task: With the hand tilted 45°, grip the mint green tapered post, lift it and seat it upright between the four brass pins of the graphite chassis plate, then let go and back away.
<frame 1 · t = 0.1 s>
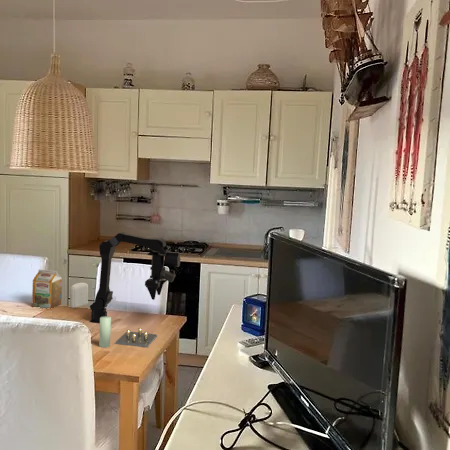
hand: (156, 297, 226), 15 cm above the table, tool pointing down, fingers open, 9 cm apart
milk carton: (46, 306, 251), on the table
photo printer: (78, 305, 255), on the table
mint green tapered post: (104, 345, 199), on the table
chassis plate: (136, 340, 208), on the table
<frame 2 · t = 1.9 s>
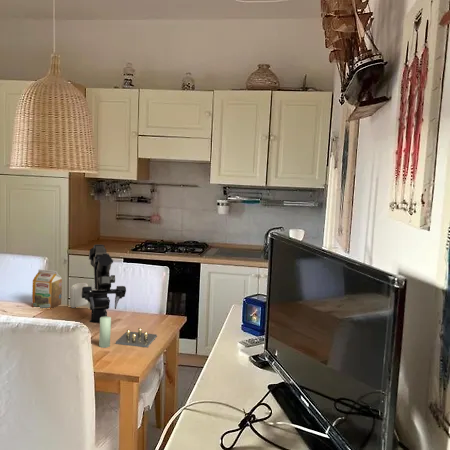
hand: (104, 309, 206), 13 cm above the table, tool tilted 45°, fingers open, 9 cm apart
nothing on the table moved.
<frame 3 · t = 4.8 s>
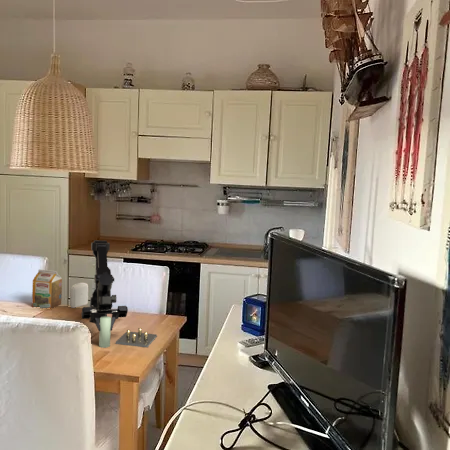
hand: (105, 330, 197), 7 cm above the table, tool tilted 45°, fingers closed on mint green tapered post, 4 cm apart
mint green tapered post: (104, 345, 199), on the table, touching gripper
everything else where it was.
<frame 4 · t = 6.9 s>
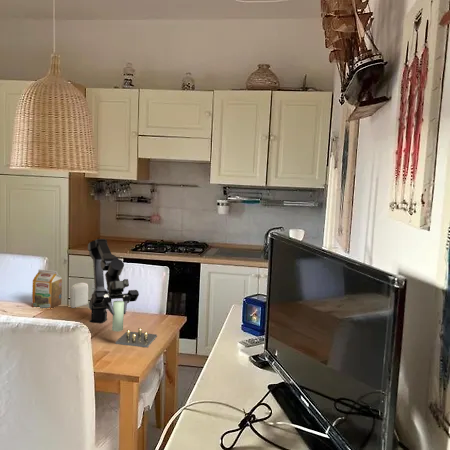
hand: (119, 314, 199), 13 cm above the table, tool tilted 45°, fingers closed on mint green tapered post, 4 cm apart
mint green tapered post: (117, 329, 201), point 6 cm above the table, touching gripper
everything else where it was.
when the fingers open (9 cm above the table, at t = 9.1 s): mint green tapered post stays where it is, resting on chassis plate.
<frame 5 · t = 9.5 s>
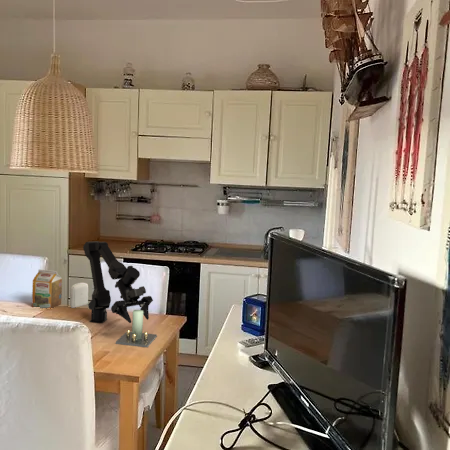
hand: (139, 320, 206), 9 cm above the table, tool tilted 45°, fingers open, 9 cm apart
mint green tapered post: (136, 337, 208), point 1 cm above the table, touching chassis plate
everything else where it was.
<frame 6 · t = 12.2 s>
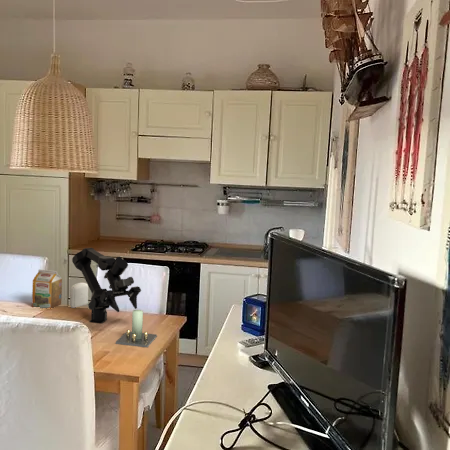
hand: (127, 310, 213), 12 cm above the table, tool tilted 45°, fingers open, 9 cm apart
nothing on the table moved.
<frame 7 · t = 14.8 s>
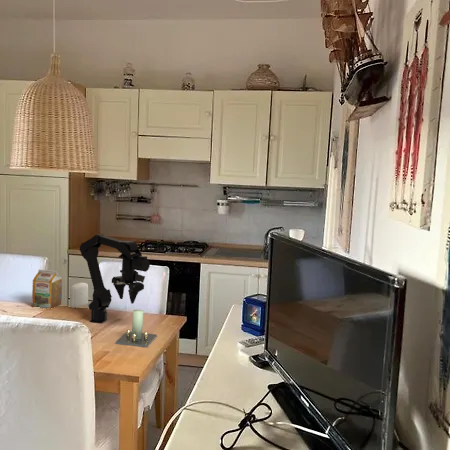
hand: (126, 301, 222), 13 cm above the table, tool pointing down, fingers open, 9 cm apart
nothing on the table moved.
at the end: mint green tapered post 0.0 cm off-centre on the chassis plate, point 1.0 cm above the chassis plate's base; mint green tapered post tilted 1°; the gripper is holding nothing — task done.
